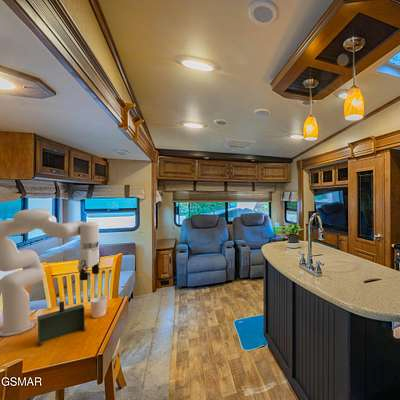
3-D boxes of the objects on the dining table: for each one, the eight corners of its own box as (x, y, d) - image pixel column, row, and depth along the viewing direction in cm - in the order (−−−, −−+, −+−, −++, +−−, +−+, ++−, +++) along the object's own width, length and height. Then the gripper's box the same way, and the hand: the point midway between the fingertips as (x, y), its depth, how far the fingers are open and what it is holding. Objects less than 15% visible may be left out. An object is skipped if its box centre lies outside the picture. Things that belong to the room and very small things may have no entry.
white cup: (97, 319, 145) (97, 302, 144) (87, 317, 146) (86, 301, 146) (110, 312, 152) (110, 297, 152) (100, 311, 154) (100, 295, 154)
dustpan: (38, 342, 123) (37, 306, 122) (82, 327, 136) (82, 295, 135) (39, 346, 120) (38, 309, 119) (84, 330, 133) (84, 297, 132)
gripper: (91, 242, 139) (92, 271, 140) (70, 249, 122) (70, 283, 123) (106, 241, 141) (106, 271, 142) (87, 249, 124) (87, 282, 125)
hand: (89, 276), depth 132 cm, fingers open, 9 cm apart
